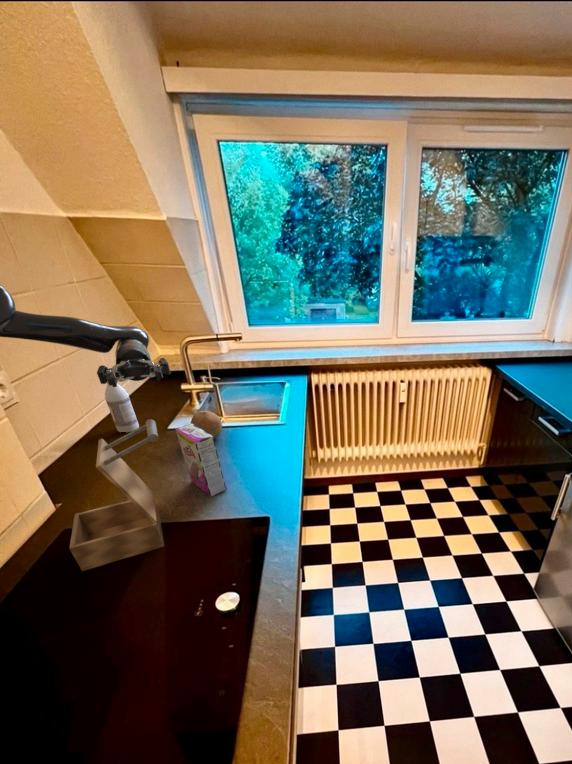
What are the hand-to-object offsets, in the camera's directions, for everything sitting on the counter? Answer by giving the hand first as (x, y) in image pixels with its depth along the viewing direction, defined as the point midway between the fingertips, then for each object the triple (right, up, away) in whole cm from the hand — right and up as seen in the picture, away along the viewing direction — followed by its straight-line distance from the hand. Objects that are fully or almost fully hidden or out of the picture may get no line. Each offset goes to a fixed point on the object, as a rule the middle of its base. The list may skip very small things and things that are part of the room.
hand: (135, 379), depth 82 cm
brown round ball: (-3, -8, +47) cm, 48 cm away
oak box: (-5, -35, +4) cm, 36 cm away
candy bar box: (+6, -23, +23) cm, 33 cm away
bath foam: (-34, -4, +54) cm, 64 cm away
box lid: (-1, -22, -2) cm, 22 cm away
